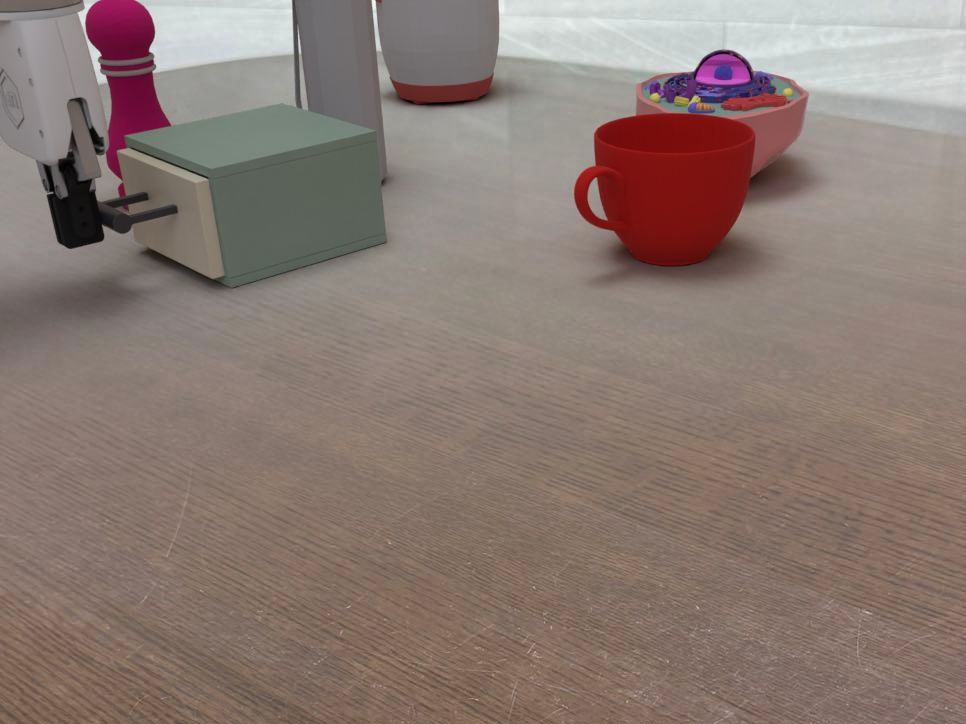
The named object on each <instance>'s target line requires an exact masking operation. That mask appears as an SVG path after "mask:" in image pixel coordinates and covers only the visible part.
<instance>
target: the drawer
mask: <svg viewBox="0 0 966 724" xmlns="http://www.w3.org/2000/svg"><path fill="white" fill-rule="evenodd" d="M117 155H118V160H119V165H120V169H121V174H122V179H123V184H124V189H125V193H126V196H124V197H115V198H111V199H107V200H103V201H100V200H97V203H98V208H99V213H100V217H101V222H102V227H105V228H106V229H109V230H112V231H114V232H115V233H116V234H117V233H118V234H120V235H124V234H128V233H129V232H130V231H131V229H132V231H133V236H134V241H135V242H137V243H138V244H141V245H142V246H144V247H147V248H148V249H151V250H152V251H155V252H157V253H158V254H161V255H163V256H164V257H167V258H169V259H171V260H173V261H174V262H177V263H178V264H181V265H183V266H185V267H187V268H190V269H191V270H193V271H195V272H197V273H199V274H201V275H202V276H205V277H207V278H209V279H211V280H214V279H215V278H218V277H222V276H225V272H224V266H223V260H222V254H221V248H220V243H219V237H218V231H217V225H216V219H215V213H214V207H213V201H212V196H211V190H210V184H209V179H206V178H204V177H201V176H199V175H196V173H195V172H194V171H191V170H189V169H186V168H183V167H181V166H178V165H176V164H173V163H171V162H168V161H166V160H163V159H160V158H158V157H155V156H153V155H150V154H149V155H150V156H148V155H145V154H143V153H140V152H138V151H135V150H133V149H130V148H127V149H122V150H118V151H117ZM126 205H128V208H129V209H128V211H129V214H127V213H126V212H124V211H121V210H119V209H117V208H122V207H123V206H126Z"/></svg>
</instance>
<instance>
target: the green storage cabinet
mask: <svg viewBox="0 0 966 724" xmlns="http://www.w3.org/2000/svg"><path fill="white" fill-rule="evenodd" d="M124 137H125V142H126V145H127V148H130V149H133V150H135V151H138V152H140V153H143V154H145V155H148V156H150V155H153V156H155V157H158V158H160V159H163V160H166V161H168V162H171V163H173V164H176V165H178V166H181V167H183V168H186V169H189V170H191V171H194V172H196V173H199V174H201V175H204V176H206V177H209V178H208V179H209V184H210V190H211V196H212V201H213V207H214V213H215V219H216V225H217V231H218V237H219V243H220V248H221V254H222V260H223V266H224V272H225V276H222V277H218V278H215V279H213V280H215V281H216V282H218V283H220V284H222V285H224V286H226V287H228V288H230V289H232V288H236V287H241V286H243V285H246V284H251V283H253V282H257V281H260V280H263V279H266V278H270V277H273V276H277V275H279V274H280V275H281V274H283V273H287V272H291V271H293V270H297V269H300V268H303V267H308V266H310V265H314V264H318V263H320V262H324V261H328V260H332V259H334V258H337V257H340V256H345V255H347V254H350V253H355V252H358V251H361V250H364V249H367V248H370V247H375V246H379V245H381V244H384V243H387V233H386V221H385V211H384V210H385V209H384V200H383V189H382V188H383V187H382V181H381V176H380V166H379V155H378V144H377V132H376V130H372V129H369V128H365V127H362V126H358V125H355V124H352V123H348V122H345V121H341V120H338V119H334V118H331V117H328V116H324V115H321V114H317V113H314V112H311V111H308V109H304V108H302V109H300V108H297V107H296V106H293V105H290V104H286V103H283V102H282V103H277V104H272V105H268V106H262V107H258V108H252V109H248V110H243V111H238V112H233V113H228V114H224V115H220V116H213V117H209V118H204V119H199V120H195V121H189V122H184V123H180V124H179V123H178V124H174V125H172V126H169V127H164V128H159V129H154V130H149V131H145V132H140V133H135V134H130V135H125V136H124ZM149 154H150V155H149Z"/></svg>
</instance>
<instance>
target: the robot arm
mask: <svg viewBox="0 0 966 724" xmlns="http://www.w3.org/2000/svg"><path fill="white" fill-rule="evenodd" d="M84 1H85V0H0V138H1V140H2V141H3V143H4V144H5V145H6V146H8V147H9V148H10V149H13V150H15V151H16V152H18V153H20V154H22V155H25V156H26V157H28V158H30V159H33V160H35V163H36V166H37V170H38V175H39V177H40V180H41V184H42V187H43V189H44V192H45V193H46V199H47V203H48V208H49V211H50V216H51V221H52V225H53V229H54V233H55V237H56V241H57V244H60V245H61V246H63V247H65V248H66V249H67V250H73V249H77V248H82V247H85V246H89V245H93V244H97V243H101V242H104V240H105V232H104V226H103V225H102V222H101V217H100V213H99V208H98V203H97V195H96V192H97V187H96V179H98V178H101V177H102V175H103V174H102V169H101V165H100V162H99V159H98V156H99V157H101V156H104V155H106V152H107V150H108V148H109V136H108V124H107V119H106V113H105V108H104V104H103V99H102V95H101V91H100V87H99V82H98V78H97V75H96V70H95V67H94V63H93V60H92V55H91V52H90V48H89V44H88V41H87V38H86V34H85V31H84V28H83V25H82V22H81V19H80V18H81V17H80V16H79V15H80V14H79V13H80V12H83V11H84V10H85V9H86V6H85V2H84Z"/></svg>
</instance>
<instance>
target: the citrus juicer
mask: <svg viewBox="0 0 966 724" xmlns="http://www.w3.org/2000/svg"><path fill="white" fill-rule="evenodd" d="M374 1H375V10H376V11H375V12H376V20H377V22H376V24H377V30H378V39H379V45H380V49H381V54H382V56H383V60H384V64H385V67H386V68H387V73H388V75H389V81H390V82H391V84H392V87H393V88H394V90H395V93H396V94H397V96H398V97H399V98H401V99H403V100H408V101H412V103H413V104H416V105H425V104H429V103H450V102H459V101H460V102H461V101H464V102H465V101H466V102H472V101H477V100H479V97H482V96H484V95H486V94H487V93H488V92H489V90H490V87H491V84H492V82H493V78H494V75H495V67H496V63H497V59H498V52H499V43H500V4H499V1H500V0H374Z"/></svg>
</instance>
